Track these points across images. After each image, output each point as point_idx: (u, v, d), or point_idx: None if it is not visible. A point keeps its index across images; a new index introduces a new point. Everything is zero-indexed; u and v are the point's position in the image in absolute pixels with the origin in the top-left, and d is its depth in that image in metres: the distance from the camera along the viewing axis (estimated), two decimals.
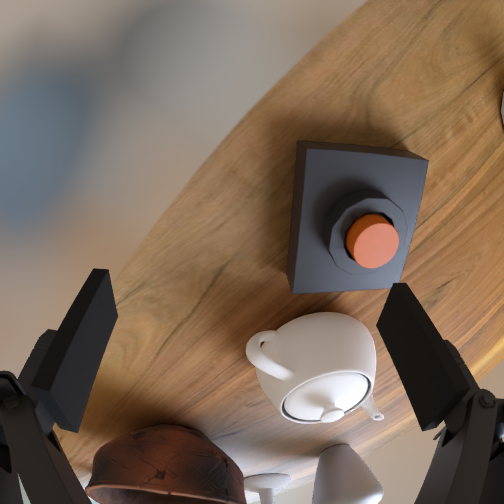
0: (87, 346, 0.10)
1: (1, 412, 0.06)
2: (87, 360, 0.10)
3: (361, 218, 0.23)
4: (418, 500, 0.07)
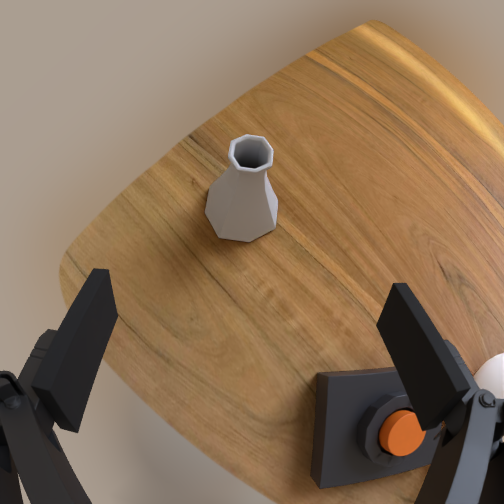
0: (87, 346, 0.10)
1: (1, 412, 0.06)
2: (87, 359, 0.10)
3: (381, 445, 0.21)
4: (418, 500, 0.07)
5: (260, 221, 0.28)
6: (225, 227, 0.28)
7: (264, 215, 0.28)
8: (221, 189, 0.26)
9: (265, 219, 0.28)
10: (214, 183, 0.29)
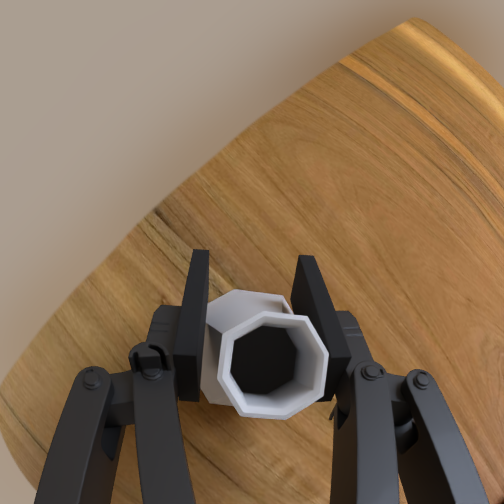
0: (203, 318, 0.12)
1: (136, 380, 0.08)
2: (202, 331, 0.12)
3: None
4: (333, 492, 0.07)
5: None
6: (219, 401, 0.15)
7: None
8: (208, 364, 0.13)
9: None
10: None
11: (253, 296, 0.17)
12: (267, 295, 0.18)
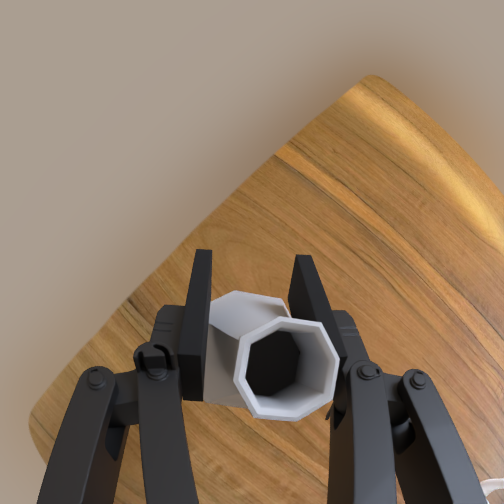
0: (206, 318, 0.12)
1: (140, 380, 0.08)
2: (206, 331, 0.12)
3: None
4: (330, 492, 0.07)
5: None
6: (217, 401, 0.15)
7: None
8: (212, 365, 0.13)
9: None
10: None
11: (254, 298, 0.17)
12: (267, 298, 0.18)
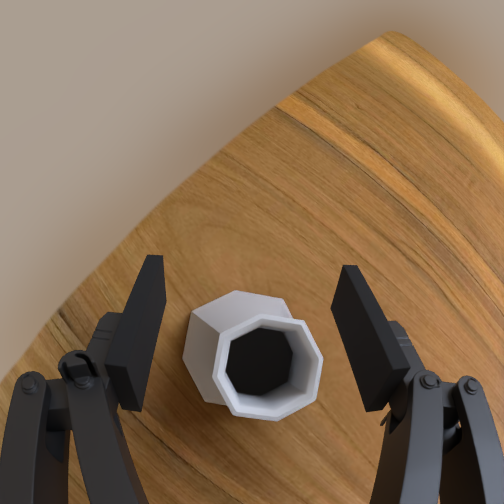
0: (149, 327, 0.12)
1: (69, 390, 0.07)
2: (148, 340, 0.12)
3: None
4: (375, 493, 0.07)
5: None
6: (214, 400, 0.15)
7: None
8: (205, 363, 0.13)
9: None
10: (197, 321, 0.16)
11: (253, 298, 0.17)
12: (267, 298, 0.18)
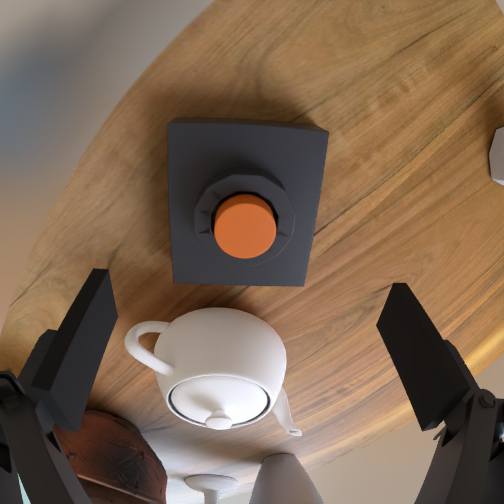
0: (87, 346, 0.10)
1: (1, 412, 0.06)
2: (87, 360, 0.10)
3: (229, 198, 0.21)
4: (418, 500, 0.07)
5: None
6: None
7: None
8: None
9: None
10: None
11: None
12: None
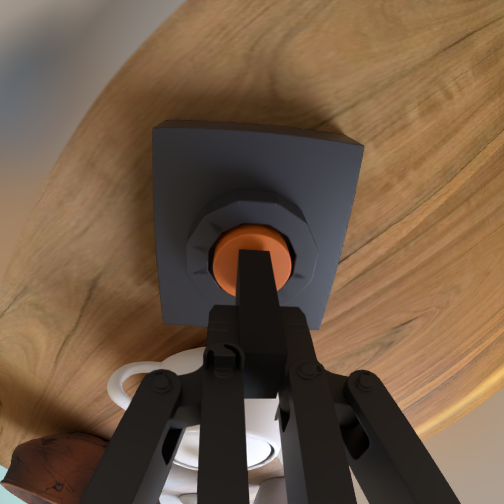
0: None
1: (206, 377, 0.09)
2: None
3: None
4: (288, 496, 0.07)
5: None
6: None
7: None
8: None
9: None
10: None
11: None
12: None
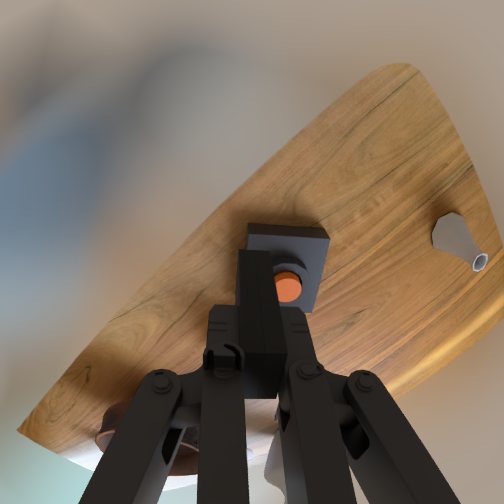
0: None
1: (206, 377, 0.09)
2: None
3: (279, 273, 0.42)
4: (288, 496, 0.07)
5: (442, 244, 0.44)
6: (444, 226, 0.43)
7: (444, 248, 0.44)
8: (465, 233, 0.40)
9: (442, 247, 0.44)
10: (465, 223, 0.43)
11: None
12: None
